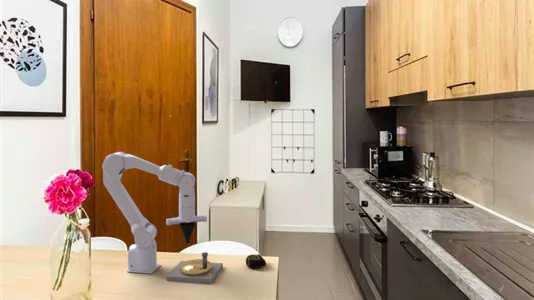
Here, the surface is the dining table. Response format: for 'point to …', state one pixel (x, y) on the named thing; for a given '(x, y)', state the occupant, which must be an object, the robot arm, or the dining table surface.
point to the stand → (205, 278)
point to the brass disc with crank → (196, 266)
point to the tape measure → (255, 261)
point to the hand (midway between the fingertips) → (187, 242)
